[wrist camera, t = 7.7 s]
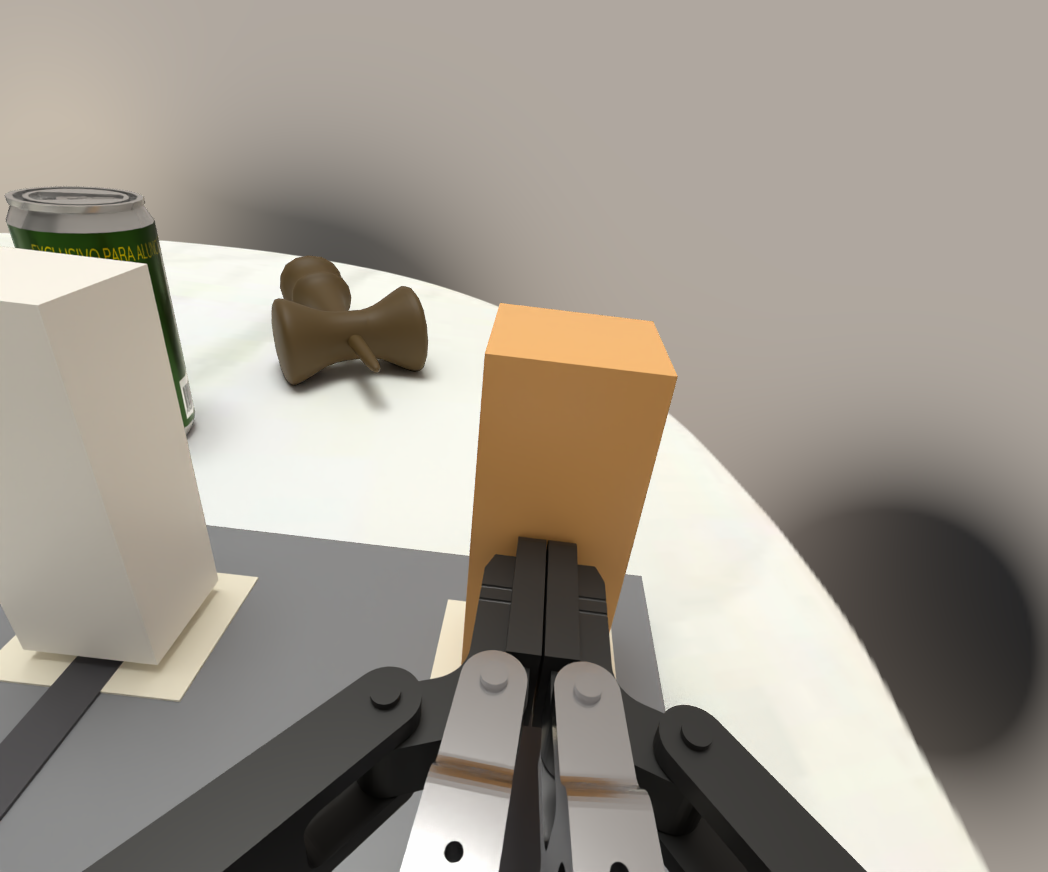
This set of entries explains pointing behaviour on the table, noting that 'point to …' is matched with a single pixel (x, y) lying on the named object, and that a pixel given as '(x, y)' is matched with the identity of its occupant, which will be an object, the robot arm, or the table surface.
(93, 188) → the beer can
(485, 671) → the robot arm
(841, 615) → the table surface
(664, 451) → the table surface
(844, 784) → the table surface
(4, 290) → the tall cream upright block
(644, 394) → the orange tall rectangular block
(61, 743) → the switch board
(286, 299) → the kendama
